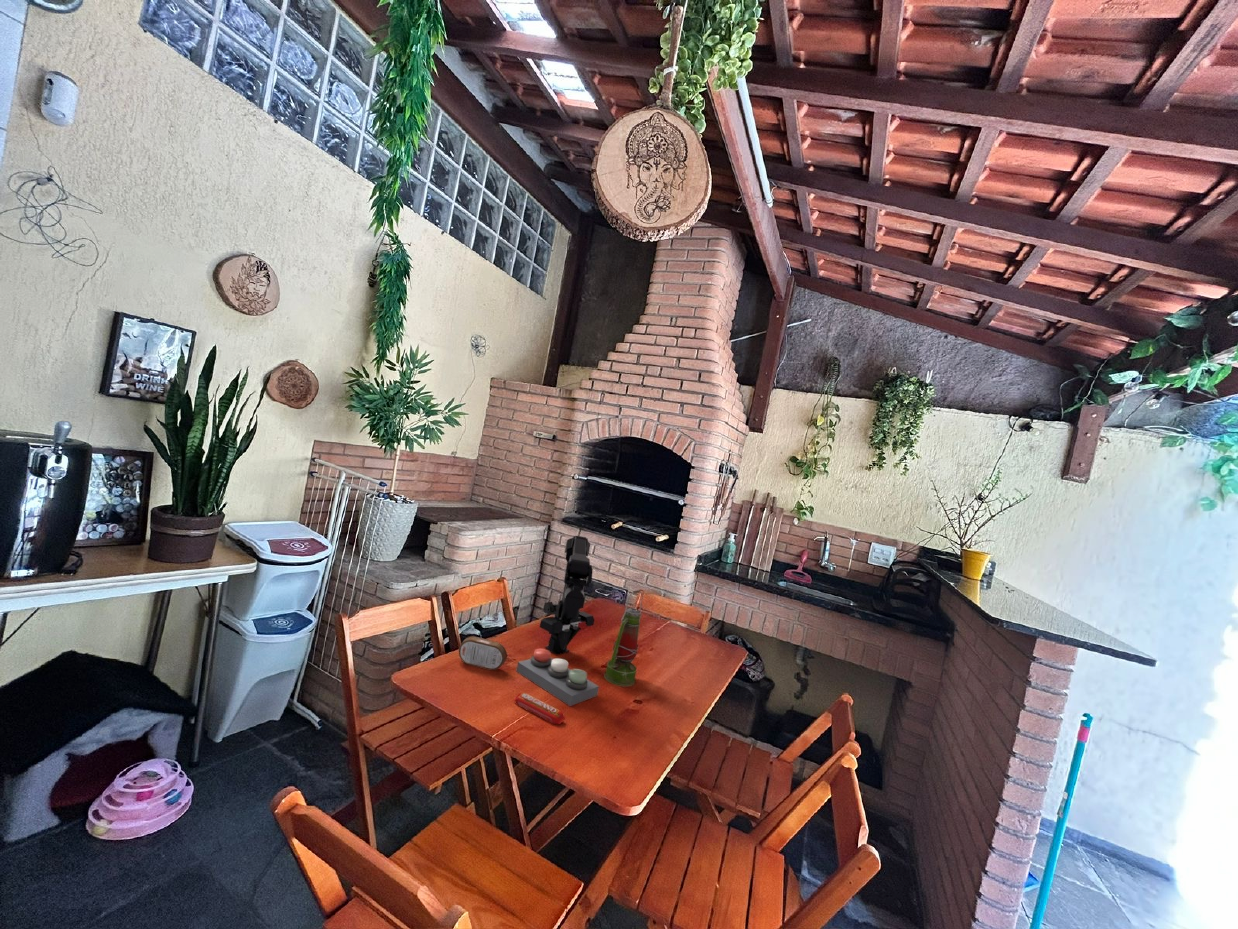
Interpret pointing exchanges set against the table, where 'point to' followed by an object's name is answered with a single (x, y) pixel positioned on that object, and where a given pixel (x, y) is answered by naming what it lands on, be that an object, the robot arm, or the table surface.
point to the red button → (542, 655)
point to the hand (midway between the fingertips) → (562, 648)
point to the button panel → (557, 681)
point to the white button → (559, 665)
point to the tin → (482, 653)
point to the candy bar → (539, 708)
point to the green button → (578, 676)
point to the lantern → (625, 649)
